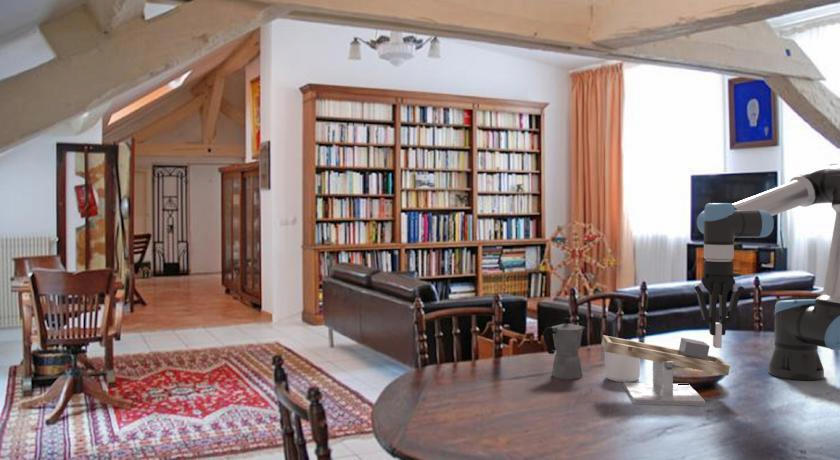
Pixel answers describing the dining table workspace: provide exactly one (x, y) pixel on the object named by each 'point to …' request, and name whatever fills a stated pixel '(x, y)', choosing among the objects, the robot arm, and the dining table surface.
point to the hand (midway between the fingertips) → (717, 347)
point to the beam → (663, 355)
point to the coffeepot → (565, 349)
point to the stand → (663, 389)
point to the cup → (621, 367)
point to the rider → (693, 349)
